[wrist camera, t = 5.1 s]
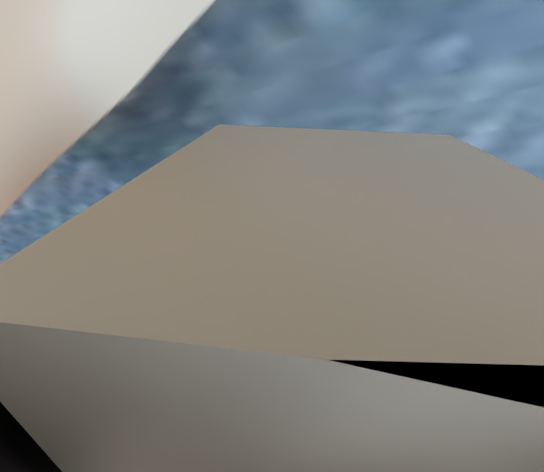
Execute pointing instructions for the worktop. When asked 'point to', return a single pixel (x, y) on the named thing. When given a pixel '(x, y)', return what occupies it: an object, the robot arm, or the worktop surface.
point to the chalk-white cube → (288, 312)
